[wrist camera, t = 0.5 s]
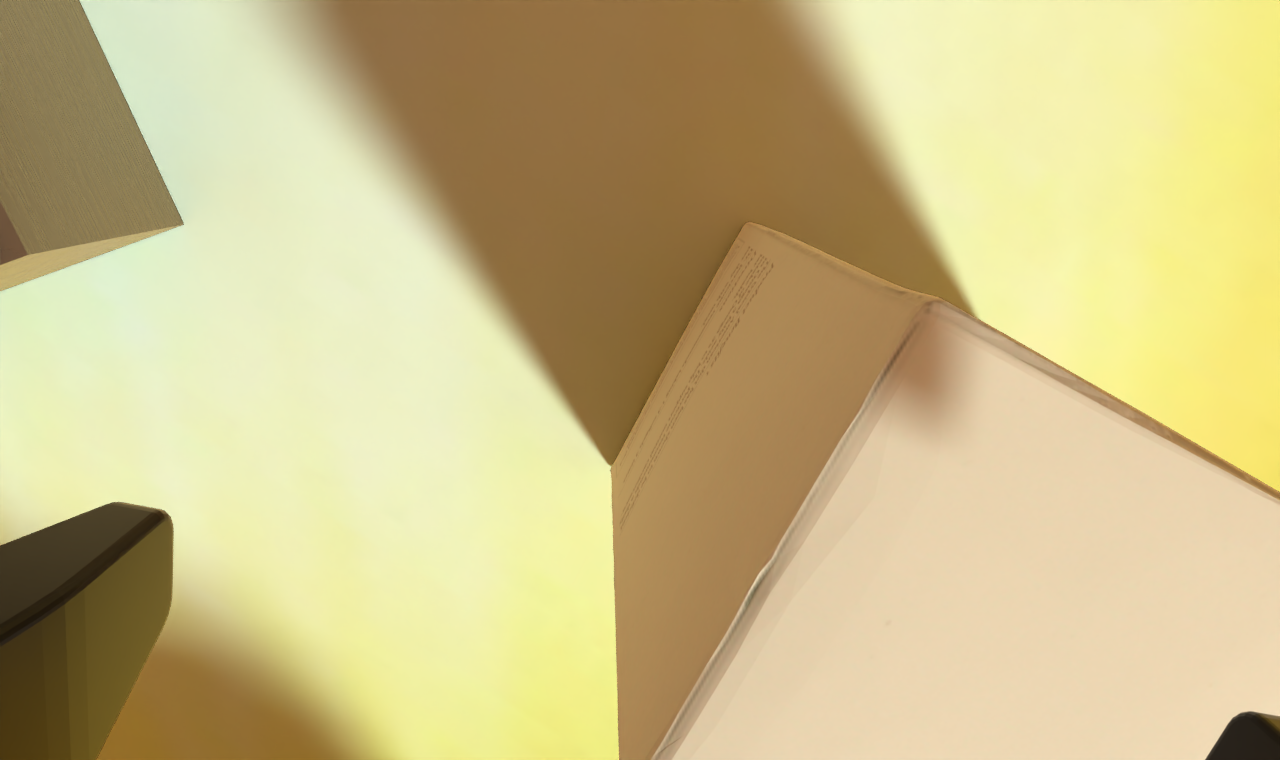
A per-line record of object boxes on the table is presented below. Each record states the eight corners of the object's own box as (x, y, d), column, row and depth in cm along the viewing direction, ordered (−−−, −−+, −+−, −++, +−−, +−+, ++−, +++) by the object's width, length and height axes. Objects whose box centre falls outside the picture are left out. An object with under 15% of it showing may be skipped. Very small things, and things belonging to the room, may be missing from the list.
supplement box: (851, 592, 25) (1092, 1040, 12) (602, 468, 23) (596, 824, 11) (1007, 350, 23) (1458, 586, 11) (748, 205, 22) (925, 288, 10)
